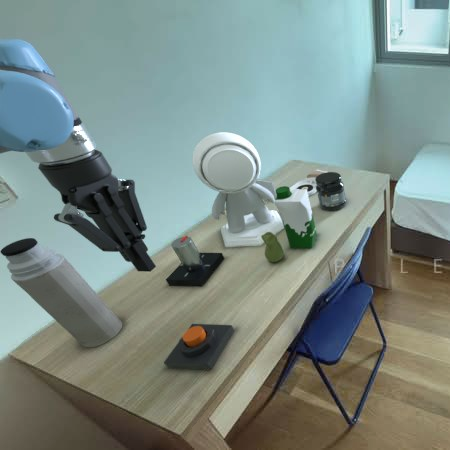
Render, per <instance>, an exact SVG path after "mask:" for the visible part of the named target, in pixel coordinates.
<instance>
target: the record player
mask: <svg viewBox="0 0 450 450" xmlns="http://www.w3.org/2000/svg"><path fill="white" fill-rule="evenodd" d="M326 172H327V171H325V170H320V169H315V170H313V171H311V172H310V173H309V174H307V175H306V178H303V179H300V180H299V181H298V182H296V183H294V184H293V185H292V186H290V187H289V189H307V192H308V197H310V196H313V195H314V194H315V193H316V194H317V190H316V185H317V184H316V181H315V179H316V177H317V176H318V175H320V174H322V173H326Z"/></svg>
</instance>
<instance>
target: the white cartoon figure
mask: <svg viewBox="0 0 450 450" xmlns="http://www.w3.org/2000/svg"><path fill="white" fill-rule="evenodd" d="M191 157H192V159H191V161H192V162H191V163H192V167H193V170H194V172H195V175H196V176H197V178H198V179H199V180H200V181H201V183H202V184H204V185H205V186H206V187H208V188H210V189H211V190H213V191H215V192H218V194H217V195H216V197H215V199H214V201H213V204H212V206H211V214H212V217H213V218H214V219H215V220H216V221H219V220H220V217H219V216H220V215H222V216H225V214H226V220H227V221H226V224H223V225H222V226H221V227H220V233H221V236H222V239H223V243H224V247H225V248H241V247H258V246H259V247H260V246H262V245H263V244H265V242H264V241H263V239H262V237H261V236H262V235H264V234H265V233H266V232H272V234H274V235H275V236H276V235H278V234H279V232H281V231H283V230H285V228H284V225H283V222H282V219H281V216H280V213H279V211H277V210H273V209H271V210H269V208H268V207H267V205H266V204H265V203H267V202H268V201H270V202H271V204H275V203H274V202H275V200H276V199H274V196H273V194H272V193H271V192H270V191H269V190H267V189H266V188H264V187H262V186H261V185H259V184H256V183H255V182H256V180H257V179H259V177H260V175H261V169H262V162H261V158H260V155H259V152H258V151H257V149H256V147H255V146H254V145H253V144H252V143H251V142H250V141H249V140H248V139H246V138H244V136H241V135H239V134H236V133H233V132H228V131H227V132H225V131H223V132H222V131H221V132H214V133H211V134H209V135H206V136H205V137H203V138H202V139H201V140H200V141H198V143H197V144H196V146H195V147H194V150H193V152H192V156H191ZM256 193H257V194H258V195H260V196H261V197H260V196H258V195H257V194H256ZM225 210H226V211H225ZM225 212H226V213H225Z"/></svg>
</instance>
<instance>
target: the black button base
mask: <svg viewBox="0 0 450 450" xmlns="http://www.w3.org/2000/svg"><path fill="white" fill-rule="evenodd" d="M194 326H201V327H202V328H203V330H204V331H205V333H206V338H205V340H204V341H203V342H202V343H200V344H199V345H197V346H194V347H189V346H187V344H186V343H185V342H184V340H183V335H182V336H181V338H180V339H179V340H178V342H177V343H176V345H175V346H174V348H173V349H172V350H171V352H170V353H169V355H168V356H167V357H166V358H165V360H164V361H163V364H164V365H165V366H166V367H167V368H168V369H179V370H182V369H183V370H204V371H212V370H213V368H214V366H215V364H216V363H217V361H218V360H219V358H220V356H221V354H222V353H223V351H224V350H225V348H226V346H227V344H228V343H229V341H230V340H231V337H232V335H233V334H234V333H235V328H234V327H233V326H232V324H209V323H191V325H190V326H189V327H188V329H190V328H192V327H194Z"/></svg>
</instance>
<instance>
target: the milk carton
mask: <svg viewBox="0 0 450 450" xmlns="http://www.w3.org/2000/svg"><path fill="white" fill-rule="evenodd" d="M275 189H276V194H277V197H276V199H275V201H274V203H273V204H274V205H275V206H276V208H277V210H278V213H279V216H280V218H281V219H282V222H283V225H284V231H285V234H286V238H287V242H288V244H289V245H288V246H289V248H290V249H312V248H313V246H314V244H315V241H316V238H317V236H318V234H317V228H316V223H315V219H314V214H313V211H312V206H311V203H310V196H308V192H307V189H290V187H289V186H286V185H285V186H284V185H283V186H279V187H277V188H275Z"/></svg>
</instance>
